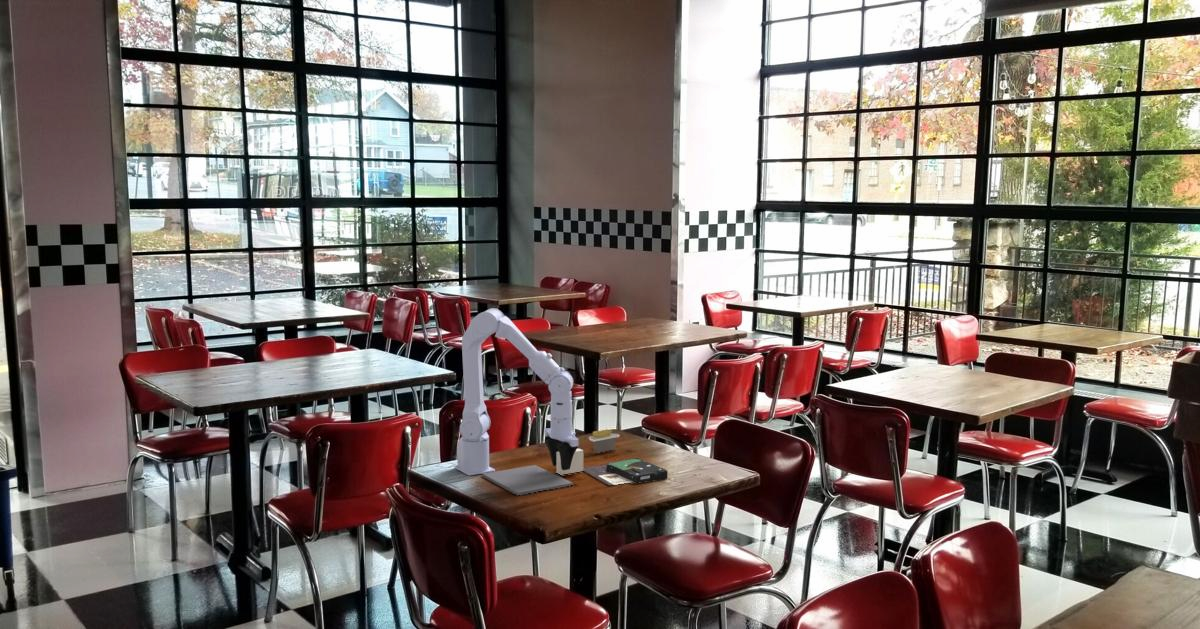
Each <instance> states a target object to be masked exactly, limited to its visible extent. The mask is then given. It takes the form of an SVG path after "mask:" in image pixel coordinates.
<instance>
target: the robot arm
mask: <svg viewBox="0 0 1200 629" xmlns="http://www.w3.org/2000/svg"><path fill="white" fill-rule="evenodd" d="M495 333H496V334H495ZM494 334H495V335H494ZM492 335H494V337H495V338H500V339H505V340H507V341H508V342H510V343H511V344H512V345H513V346H514V347H515V349H517V350H518V351H519V352H520V353H521V354H522V355H523V356H524V357H526V358H527V360H528V367H529V368H530V369H531V370H532V371H533V372H534V373H535V374H536V375H537V376H538V377H539V378H540V380H542V382H544V383H545V384H547V385H548V386H547V387H548V388H547V389H548V391H549V392H550V399H551V400H550V428H549V427H548V428H544V436H545V437H549V438H548V439H545V440H544V443H545V445H546V447H547V450H548V452H549V455H550V460H551V463H552V466H553V467H556V452H559V454H560V459H561V468H562V470H568V469H570V466H571V462H572V459H573V456H574V453H575V451H576V449H579V438H578V437H576V431H573V400H572V397H573V395H572V390H571V389H572V388H573V386H574V378H573V376H572V375H571V373H570V372H569V371H567V370H565V368H564V367H563V366H562V367H561V366H560V365H559V364H558V363H557V362H556V361H555V360H554V359H552V357H553V355H552V354H551V353H550V352H546V351H545V350H537V348H536V347H535V346H534V345H533V344H532V343H531V341H530V340H529V339H528V338H527V337H526V335H524V334H523V332H521V331H520V330H519V328H518V327H517V326H516V325H515V323H514V322H513V321H512V320H511V319H510V318H509V317H508V316H506V315H504V313H503V312H502V311H501V310H499V309H498V308H495V307H494V308H492V307H491V308H489V309H487V310H485V311H483V312H480V313H478V314H477V315H476V316H475V317H473V318H472V319H471V320H470V323H469V325H468V327H467V329H466V330H465V332H464V333H463V335H462V337H461V351H462V352H461V353H462V370H463V371H462V372H463V390H464V407H463V410H462V420H461V422H460V424H459V425H460V426H459V432H460V435H461V437H460V438H459V439H458V442H457V445H456V446H457V447H456V454H457V455H456V457H457V459H456V460H457V465H454V469H456V470H458V471H459V472H461V473H463V474H465V475H467V476H475V475H481V474H483V473H489V472H495V471H496V469H495V468H493V467H491V466H490V435H489V434H488V432H487V431H488V430H489V429H490V427H491V418H490V416H489V414H488V411H487V405H486V404H485V400H484V399H485V398H484V396H485V395H484V379H483V378H484V376H483V361H482V359H483V358H482V356H483V355H482V344H483V343H485V341H486V340H487V339H488V338H489V337H490V336H492Z"/></svg>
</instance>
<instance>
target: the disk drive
mask: <svg viewBox="0 0 1200 629" xmlns="http://www.w3.org/2000/svg"><path fill="white" fill-rule="evenodd" d="M607 464H608V465H606V464H605V465H606V469H607V470H609V471H611V472H613V473H615V474H618V475H620V476H622V477H624V478H626V479H629V480H631V481H633V482H635V483H639V482H645V481H651V482H654V481H653V480H657V481H661V480H666V479H668V474H669V473H668V470H667V469H665V468H663V467H660V466H658V465H655V464H653V463H651V462H648V461H645V460H643V459H640V458H638V457H635V458H628V459H622V460H619V461H615V462H607ZM645 483H646V482H645ZM639 484H640V483H639Z"/></svg>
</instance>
